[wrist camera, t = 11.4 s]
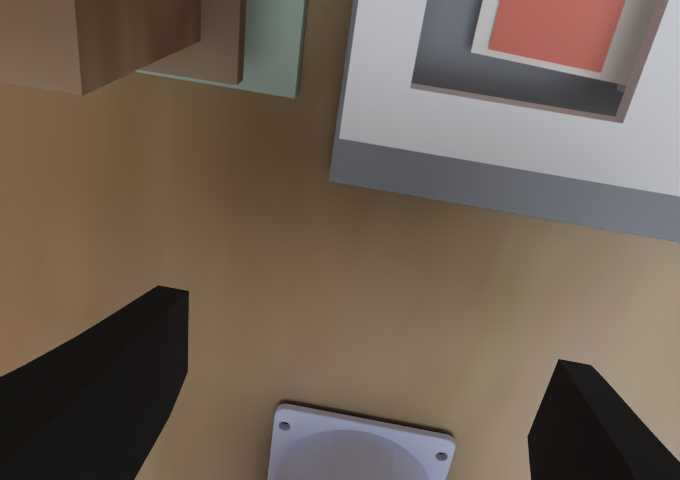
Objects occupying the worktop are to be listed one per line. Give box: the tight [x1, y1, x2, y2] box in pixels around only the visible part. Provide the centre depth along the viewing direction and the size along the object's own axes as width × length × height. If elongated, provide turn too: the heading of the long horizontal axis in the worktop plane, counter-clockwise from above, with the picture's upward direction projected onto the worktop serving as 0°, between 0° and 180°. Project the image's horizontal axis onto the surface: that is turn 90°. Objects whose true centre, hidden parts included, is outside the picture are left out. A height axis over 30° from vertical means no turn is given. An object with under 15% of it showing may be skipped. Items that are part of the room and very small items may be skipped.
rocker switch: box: [471, 0, 658, 93], centre depth 15 cm, size 4×9×1 cm, turn 82°
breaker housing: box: [329, 0, 680, 242], centre depth 15 cm, size 14×16×5 cm
